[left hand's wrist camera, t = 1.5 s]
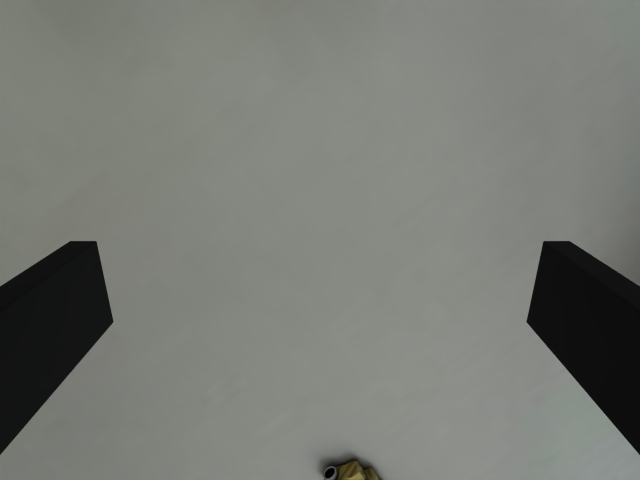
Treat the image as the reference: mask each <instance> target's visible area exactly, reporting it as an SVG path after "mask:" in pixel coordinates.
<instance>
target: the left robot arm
mask: <svg viewBox="0 0 640 480" xmlns="http://www.w3.org/2000/svg"><path fill="white" fill-rule="evenodd" d="M112 323H113V318H112V313H111V308H110V304H109V299H108V294H107V289H106V285H105V280H104V275H103V270H102V266H101V261H100V256H99V251H98V247H97V242H96V241H70V242H68V243H67V244H65V245H64V246H62V247H61V248H59V249H57V250H56V251H54V252H53V253H51V254H50V255H48V256H47V257H45V258H44V259H42V260H40V261H39V262H37V263H36V264H34V265H33V266H31V267H30V268H28V269H27V270H25V271H23V272H22V273H20V274H19V275H17V276H16V277H14V278H13V279H11V280H10V281H8V282H6V283H5V284H3V285H2V286H0V454H1V453H2V452H3V451H4V450H5V449H6V447H7V446H8V445H9V444H10V443H11V442H12V440H13V439H14V438H15V437H16V436H17V435H18V433H19V432H20V431H21V430H22V429H23V428H24V426H25V425H26V424H27V423H28V422H29V420H30V419H31V418H32V417H33V416H34V415H35V413H36V412H37V411H38V410H39V409H40V408H41V406H42V405H43V404H44V403H45V402H46V401H47V399H48V398H49V397H50V396H51V395H52V393H53V392H54V391H55V390H56V389H57V388H58V386H59V385H60V384H61V383H62V382H63V381H64V379H65V378H66V377H67V376H68V375H69V374H70V372H71V371H72V370H73V369H74V368H75V366H76V365H77V364H78V363H79V362H80V361H81V359H82V358H83V357H84V356H85V355H86V354H87V352H88V351H89V350H90V349H91V348H92V347H93V345H94V344H95V343H96V342H97V341H98V340H99V338H100V337H101V336H102V335H103V334H104V332H105V331H106V330H107V329H108V328H109V327H110V325H111V324H112ZM527 323H528V324H529V325H530V327H531V328H532V329H533V330H534V331H535V332H536V334H537V335H538V336H539V337H540V338H541V340H542V341H543V342H544V343H545V344H546V345H547V347H548V348H549V349H550V350H551V351H552V352H553V354H554V355H555V356H556V357H557V358H558V359H559V361H560V362H561V363H562V364H563V365H564V366H565V368H566V369H567V370H568V371H569V372H570V374H571V375H572V376H573V377H574V378H575V379H576V381H577V382H578V383H579V384H580V385H581V386H582V388H583V389H584V390H585V391H586V392H587V393H588V395H589V396H590V397H591V398H592V399H593V401H594V402H595V403H596V404H597V405H598V406H599V408H600V409H601V410H602V411H603V412H604V413H605V415H606V416H607V417H608V418H609V419H610V420H611V422H612V423H613V424H614V425H615V426H616V428H617V429H618V430H619V431H620V432H621V433H622V435H623V436H624V437H625V438H626V439H627V440H628V442H629V443H630V444H631V445H632V446H633V447H634V449H635V450H636V451H637V452H638V453H639V454H640V286H638V285H637V284H635V283H634V282H632V281H630V280H629V279H627V278H626V277H624V276H623V275H621V274H620V273H618V272H617V271H615V270H613V269H612V268H610V267H609V266H607V265H606V264H604V263H603V262H601V261H600V260H598V259H596V258H595V257H593V256H592V255H590V254H589V253H587V252H586V251H584V250H583V249H581V248H579V247H578V246H576V245H575V244H573V243H572V242H570V241H544V242H543V247H542V251H541V256H540V261H539V266H538V270H537V275H536V280H535V285H534V289H533V294H532V299H531V304H530V308H529V313H528V318H527Z"/></svg>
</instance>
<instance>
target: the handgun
mask: <svg viewBox="0 0 640 480" xmlns="http://www.w3.org/2000/svg"><path fill="white" fill-rule="evenodd" d="M323 477H324V480H379V478H378V477H377V475H376V474H375V472H374V470H373V469H372V468H369V469H366V470H363V469H362V467H361V466H360V464H359V463H358V461H352V462H349V463H347V464H346V465H342V466H338V467H333V466H330V467H328V468H326V470H325V471H324V473H323Z"/></svg>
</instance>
